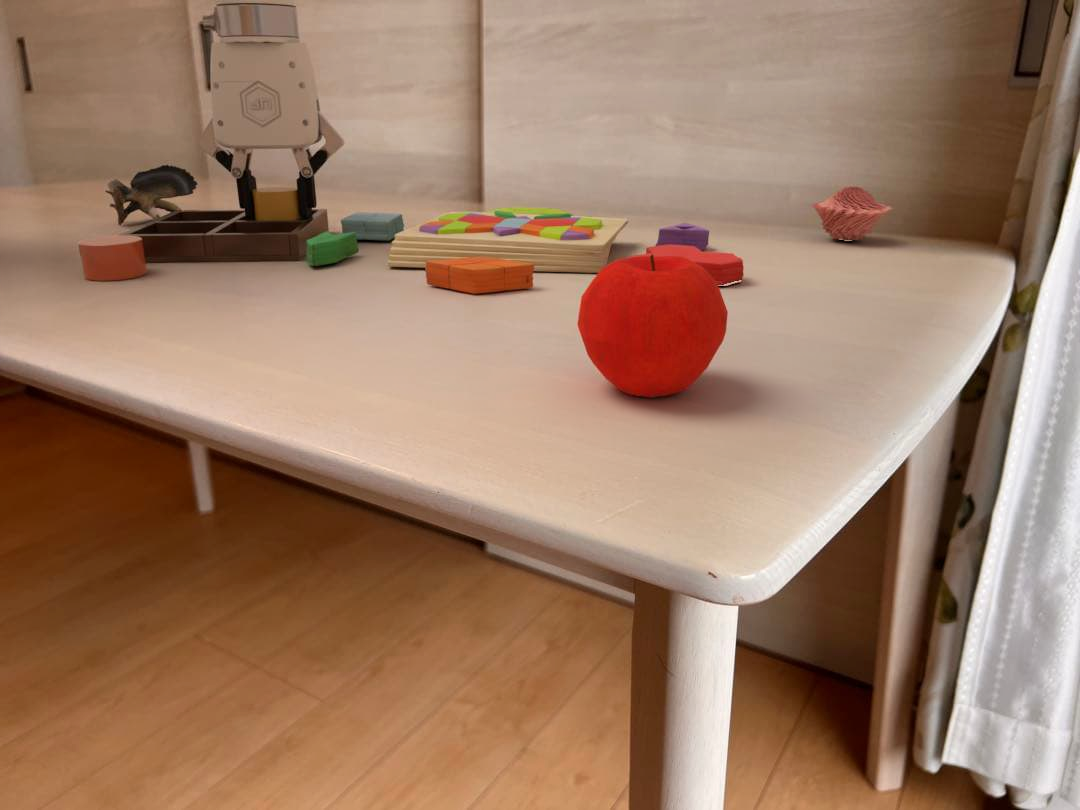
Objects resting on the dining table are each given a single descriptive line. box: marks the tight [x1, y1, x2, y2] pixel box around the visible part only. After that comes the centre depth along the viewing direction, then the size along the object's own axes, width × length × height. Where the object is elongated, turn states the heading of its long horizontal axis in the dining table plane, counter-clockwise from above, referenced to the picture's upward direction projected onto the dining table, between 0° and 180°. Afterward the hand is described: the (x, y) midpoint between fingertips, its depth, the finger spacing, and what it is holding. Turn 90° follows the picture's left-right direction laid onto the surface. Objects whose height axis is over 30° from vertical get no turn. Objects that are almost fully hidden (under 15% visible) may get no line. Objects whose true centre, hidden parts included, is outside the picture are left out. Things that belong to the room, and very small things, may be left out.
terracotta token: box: [77, 234, 148, 282], centre depth 74 cm, size 5×5×3 cm
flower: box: [810, 186, 894, 241], centre depth 89 cm, size 8×8×6 cm
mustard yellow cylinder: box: [252, 185, 304, 220], centre depth 90 cm, size 5×5×3 cm
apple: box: [577, 254, 729, 398], centre depth 46 cm, size 8×8×7 cm
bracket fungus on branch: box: [105, 164, 199, 226], centre depth 101 cm, size 8×7×9 cm
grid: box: [116, 208, 330, 263], centre depth 87 cm, size 16×16×2 cm
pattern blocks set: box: [306, 206, 745, 295], centre depth 83 cm, size 38×34×3 cm
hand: (279, 213), depth 91 cm, fingers closed on mustard yellow cylinder, 4 cm apart
